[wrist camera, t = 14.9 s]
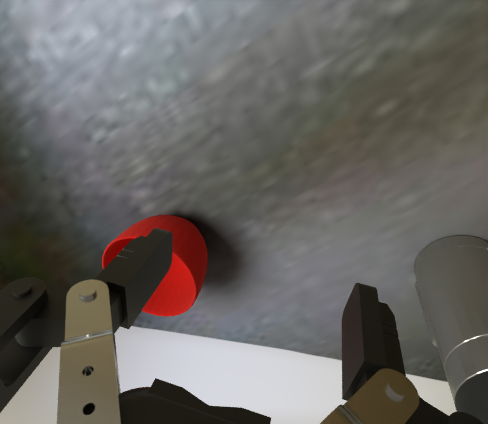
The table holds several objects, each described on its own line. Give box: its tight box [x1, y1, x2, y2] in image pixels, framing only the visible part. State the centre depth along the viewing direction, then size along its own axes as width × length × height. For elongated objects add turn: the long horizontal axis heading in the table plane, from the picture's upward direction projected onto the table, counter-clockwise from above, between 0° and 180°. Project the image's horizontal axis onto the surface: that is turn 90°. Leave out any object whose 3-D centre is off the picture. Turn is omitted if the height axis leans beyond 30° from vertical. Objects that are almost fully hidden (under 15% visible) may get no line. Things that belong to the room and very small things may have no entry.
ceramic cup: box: [102, 215, 208, 316], centre depth 45 cm, size 13×17×10 cm
